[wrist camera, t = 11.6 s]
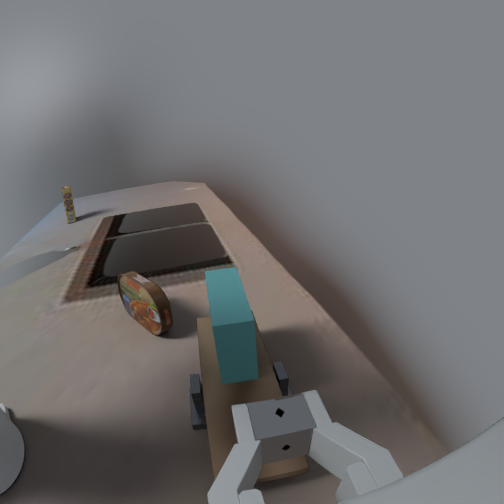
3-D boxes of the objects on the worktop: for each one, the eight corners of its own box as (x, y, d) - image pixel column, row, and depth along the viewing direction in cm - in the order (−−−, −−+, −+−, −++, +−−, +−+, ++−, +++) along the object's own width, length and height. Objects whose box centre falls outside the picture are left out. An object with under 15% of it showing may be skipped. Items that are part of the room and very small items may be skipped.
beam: (216, 493, 21) (212, 485, 20) (197, 329, 45) (195, 318, 44) (309, 475, 22) (311, 466, 22) (254, 321, 46) (253, 310, 45)
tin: (122, 309, 56) (111, 269, 52) (136, 303, 58) (126, 263, 54) (164, 344, 46) (152, 298, 43) (180, 335, 48) (170, 289, 45)
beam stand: (193, 429, 31) (185, 404, 29) (188, 345, 46) (182, 319, 44) (297, 412, 33) (298, 385, 31) (266, 333, 47) (265, 307, 45)
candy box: (77, 221, 119) (70, 186, 113) (68, 224, 117) (61, 189, 111) (75, 217, 126) (69, 184, 120) (67, 220, 124) (60, 187, 118)
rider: (222, 384, 32) (211, 326, 29) (212, 323, 43) (204, 271, 40) (258, 378, 32) (254, 320, 29) (241, 318, 43) (236, 267, 40)
